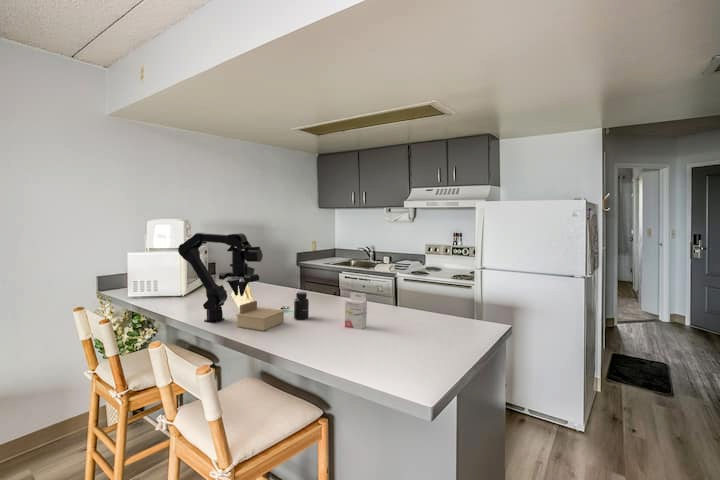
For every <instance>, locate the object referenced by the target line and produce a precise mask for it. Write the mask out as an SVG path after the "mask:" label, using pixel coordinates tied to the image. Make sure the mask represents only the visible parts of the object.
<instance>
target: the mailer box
mask: <svg viewBox="0 0 720 480" xmlns="http://www.w3.org/2000/svg"><path fill="white" fill-rule="evenodd" d="M284 312H285V311H284ZM284 312H283V313H280V314H278V315H275V316H273V317H270V318H268V319H265V320H260V319H253V318H246V317H239V316H236V317H237V318H236V321H237V328H239V329H243V330H249V331H250V330H251V331H258V332H263V333H264V332H267V331H269V330H271V329H274V328H275V327H277V326H279V325H282V324H284V321H285V319H284V314H285V313H284Z"/></svg>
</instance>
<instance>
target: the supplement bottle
mask: <svg viewBox="0 0 720 480" xmlns="http://www.w3.org/2000/svg"><path fill="white" fill-rule="evenodd" d="M295 295H296V296H295V297H296V298H295V299H294V300H293V319H295V320H299V321H304V320H307V319H309V313H310V312H309V310H310V309H309V307H310V306H309V305H310V302H309V301H310V300H309V298H307V297H308V295H307V292H304V291H299V292H296V294H295Z"/></svg>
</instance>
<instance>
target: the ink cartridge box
mask: <svg viewBox="0 0 720 480" xmlns="http://www.w3.org/2000/svg"><path fill="white" fill-rule="evenodd" d="M367 304H368V301H367V294H366V293H362V292H353V291H350V292H349V298H348V299H346V300H345V301H344V327H345V328H351V329H357V330H363V329H365V328H366V327H367V323H368V321H367V320H368V319H367V317H368V316H367V315H368V314H367V312H368V310H367V309H368V305H367Z"/></svg>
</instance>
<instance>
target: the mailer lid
mask: <svg viewBox="0 0 720 480" xmlns="http://www.w3.org/2000/svg"><path fill="white" fill-rule="evenodd" d="M283 312H285V310H283V309H276V308H268V307H260V306H258V300H253V301H250V302H247V303H242V304H241V305H239V313H237V314H236V315H235V316H236V317H237V316H239V317H246V318H253V319H260V320H265V319H268V318H270V317H273V316H275V315H278V314H280V313H283Z"/></svg>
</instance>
